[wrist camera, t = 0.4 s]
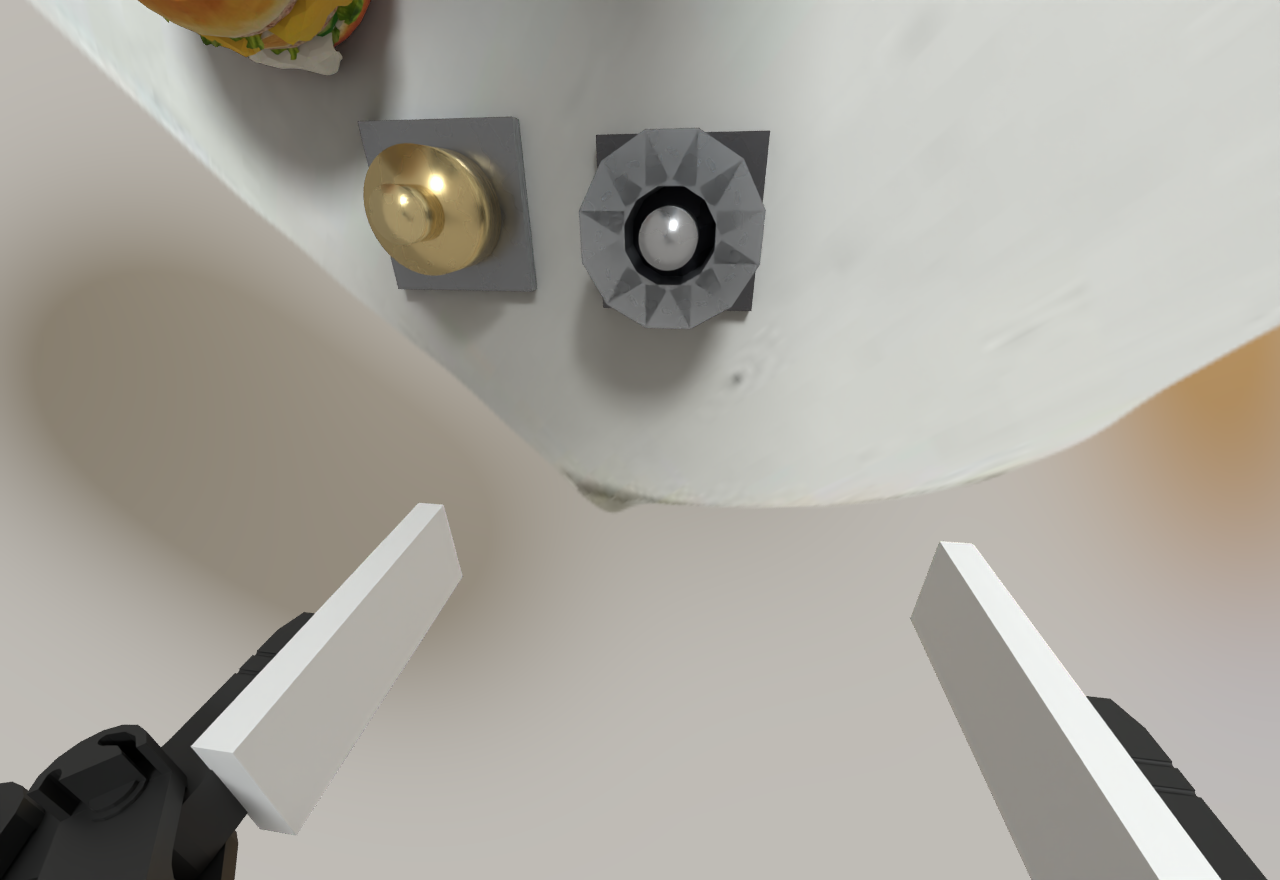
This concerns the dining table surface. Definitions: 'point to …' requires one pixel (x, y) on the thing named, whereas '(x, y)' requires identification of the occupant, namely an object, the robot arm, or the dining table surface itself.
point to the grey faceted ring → (618, 200)
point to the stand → (687, 213)
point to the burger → (271, 28)
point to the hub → (450, 202)
